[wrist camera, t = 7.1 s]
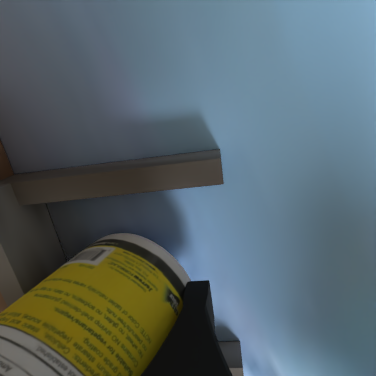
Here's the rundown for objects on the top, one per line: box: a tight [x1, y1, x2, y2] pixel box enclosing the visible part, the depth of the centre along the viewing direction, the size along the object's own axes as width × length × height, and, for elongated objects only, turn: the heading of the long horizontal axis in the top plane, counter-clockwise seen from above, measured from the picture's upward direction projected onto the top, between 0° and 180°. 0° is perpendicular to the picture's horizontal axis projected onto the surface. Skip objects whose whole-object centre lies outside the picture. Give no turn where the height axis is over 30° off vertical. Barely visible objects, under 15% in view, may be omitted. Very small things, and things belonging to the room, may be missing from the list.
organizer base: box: [0, 140, 244, 376], centre depth 13 cm, size 20×18×3 cm
